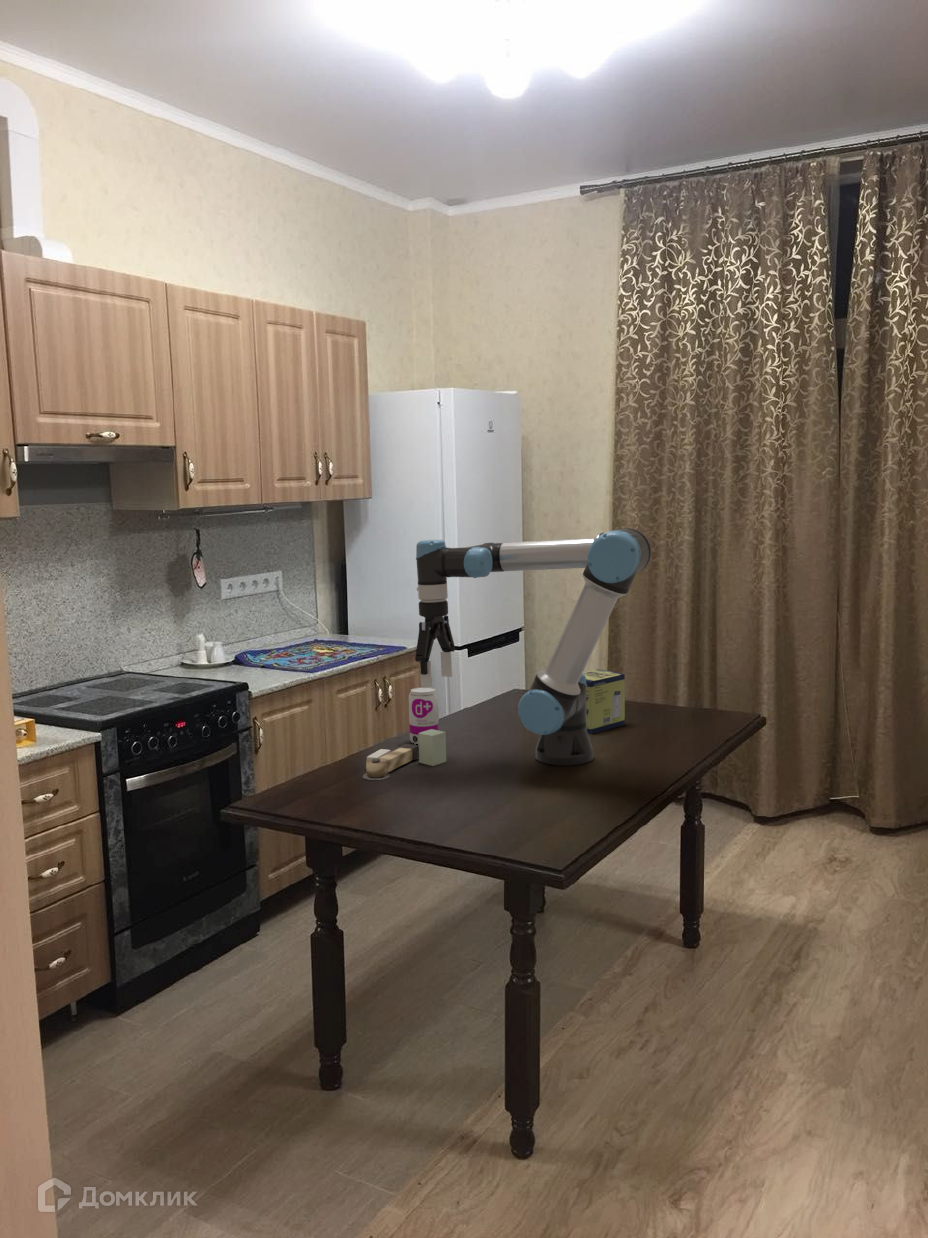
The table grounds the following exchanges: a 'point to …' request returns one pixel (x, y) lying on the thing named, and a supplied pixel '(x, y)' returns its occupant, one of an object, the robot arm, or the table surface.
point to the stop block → (378, 754)
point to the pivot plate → (376, 777)
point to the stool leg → (392, 760)
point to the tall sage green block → (432, 747)
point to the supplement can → (422, 711)
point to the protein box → (604, 700)
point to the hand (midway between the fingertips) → (436, 681)
